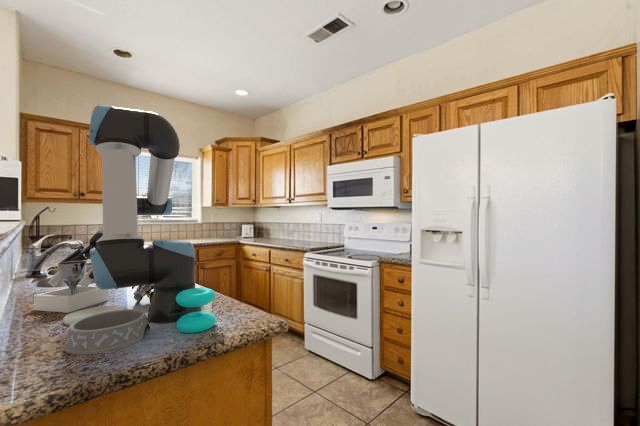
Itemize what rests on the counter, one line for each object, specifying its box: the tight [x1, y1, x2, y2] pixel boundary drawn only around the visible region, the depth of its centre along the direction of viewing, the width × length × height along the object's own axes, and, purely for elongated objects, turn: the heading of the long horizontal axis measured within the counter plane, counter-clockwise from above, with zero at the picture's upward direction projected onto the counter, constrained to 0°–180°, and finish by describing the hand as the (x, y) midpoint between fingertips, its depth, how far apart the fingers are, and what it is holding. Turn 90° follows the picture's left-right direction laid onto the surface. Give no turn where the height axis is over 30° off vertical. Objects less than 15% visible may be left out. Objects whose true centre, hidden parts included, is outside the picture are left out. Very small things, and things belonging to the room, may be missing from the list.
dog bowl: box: [63, 308, 151, 356], centre depth 79 cm, size 17×18×5 cm
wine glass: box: [57, 260, 87, 295], centre depth 110 cm, size 8×8×15 cm
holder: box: [33, 284, 109, 314], centre depth 110 cm, size 14×14×5 cm
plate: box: [62, 305, 124, 326], centre depth 96 cm, size 15×15×1 cm
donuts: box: [175, 287, 216, 334], centre depth 86 cm, size 10×10×10 cm
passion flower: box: [131, 284, 154, 306], centre depth 110 cm, size 11×11×12 cm
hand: (66, 285), depth 108 cm, fingers open, 13 cm apart
